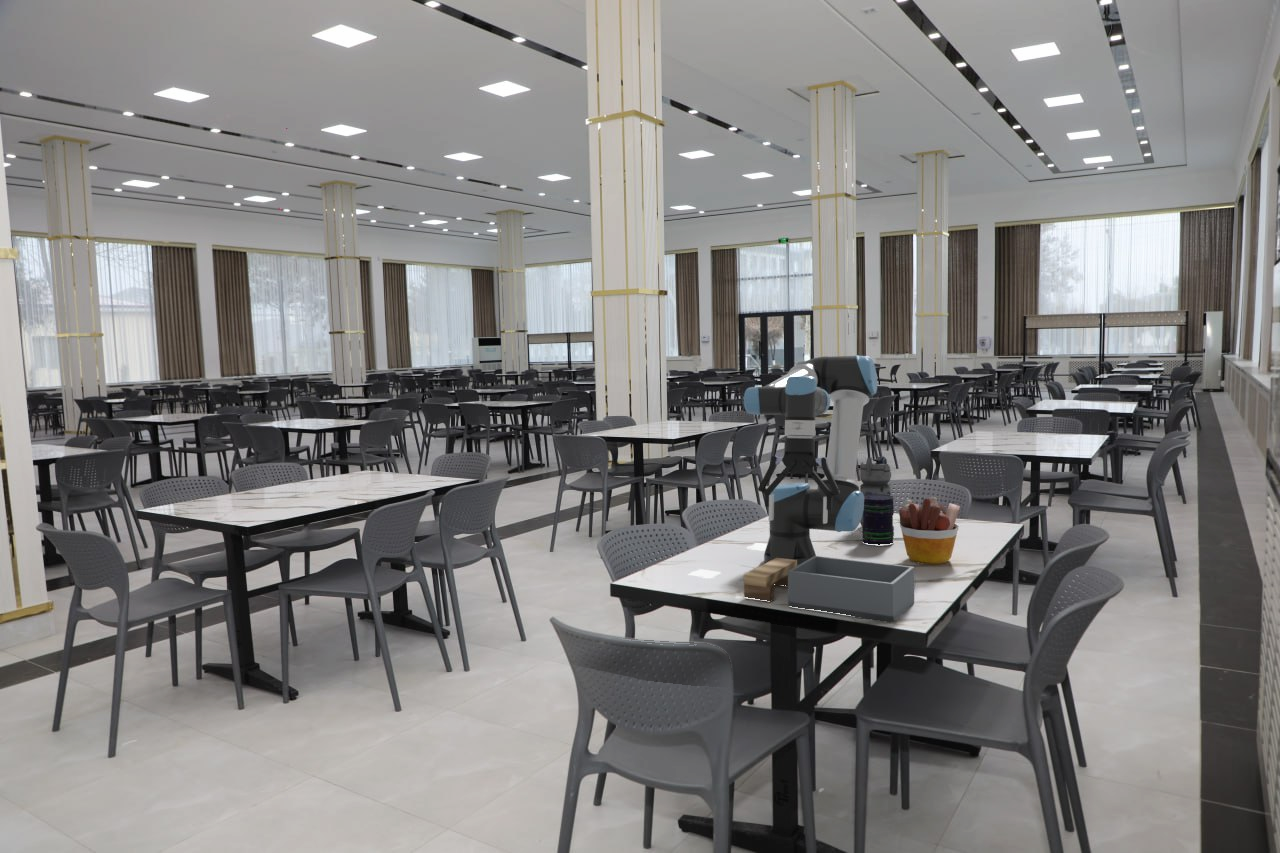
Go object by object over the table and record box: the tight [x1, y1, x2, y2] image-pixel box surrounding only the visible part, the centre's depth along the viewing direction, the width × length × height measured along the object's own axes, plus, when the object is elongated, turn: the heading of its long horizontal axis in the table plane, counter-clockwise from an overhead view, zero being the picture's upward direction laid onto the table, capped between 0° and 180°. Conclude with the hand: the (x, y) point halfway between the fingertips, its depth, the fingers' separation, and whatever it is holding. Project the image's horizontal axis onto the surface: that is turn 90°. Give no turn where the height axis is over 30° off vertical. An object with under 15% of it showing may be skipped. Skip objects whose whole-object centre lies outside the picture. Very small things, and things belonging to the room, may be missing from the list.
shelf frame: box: [787, 555, 915, 623], centre depth 210 cm, size 26×18×9 cm
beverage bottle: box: [859, 455, 892, 527], centre depth 300 cm, size 10×13×25 cm
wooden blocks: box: [743, 575, 788, 602], centre depth 224 cm, size 18×7×4 cm, turn 147°
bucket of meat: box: [898, 496, 961, 565], centre depth 252 cm, size 20×16×20 cm
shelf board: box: [743, 558, 797, 587], centre depth 224 cm, size 20×6×2 cm, turn 147°
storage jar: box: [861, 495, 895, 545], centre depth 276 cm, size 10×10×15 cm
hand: (797, 521), depth 218 cm, fingers open, 13 cm apart
